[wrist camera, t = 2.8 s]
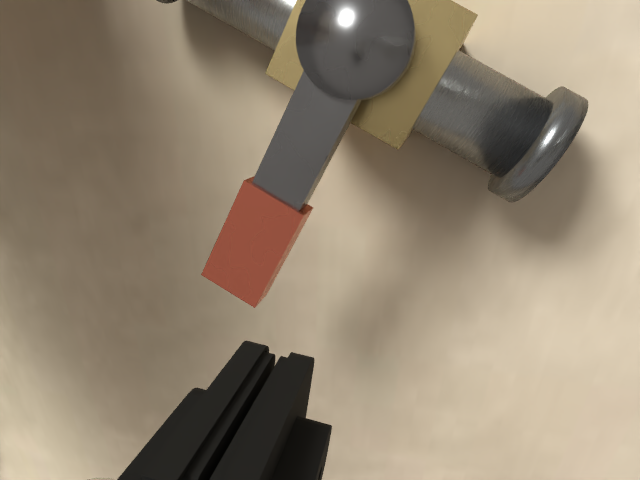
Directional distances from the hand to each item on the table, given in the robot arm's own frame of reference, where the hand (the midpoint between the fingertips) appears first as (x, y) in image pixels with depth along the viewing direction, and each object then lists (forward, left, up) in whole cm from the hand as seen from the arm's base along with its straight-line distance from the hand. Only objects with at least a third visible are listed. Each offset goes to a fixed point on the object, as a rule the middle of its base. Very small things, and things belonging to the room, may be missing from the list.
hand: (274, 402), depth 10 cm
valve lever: (+4, -3, -11) cm, 12 cm away
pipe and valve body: (+6, -8, -20) cm, 22 cm away
